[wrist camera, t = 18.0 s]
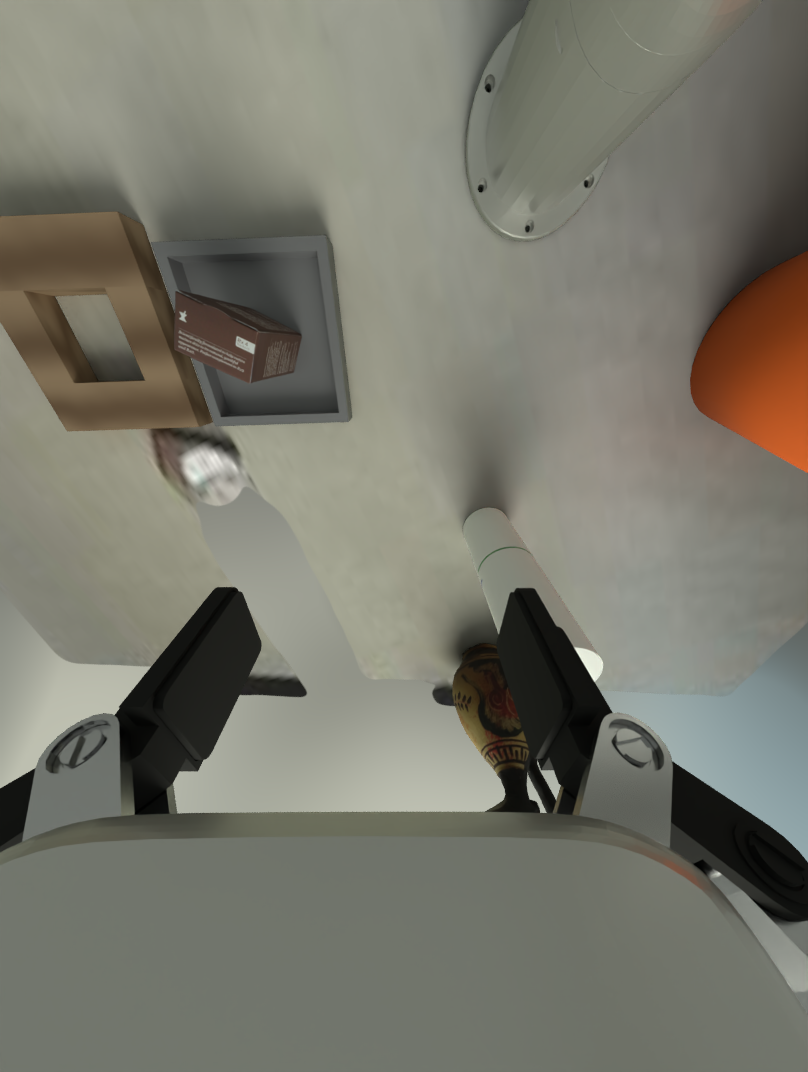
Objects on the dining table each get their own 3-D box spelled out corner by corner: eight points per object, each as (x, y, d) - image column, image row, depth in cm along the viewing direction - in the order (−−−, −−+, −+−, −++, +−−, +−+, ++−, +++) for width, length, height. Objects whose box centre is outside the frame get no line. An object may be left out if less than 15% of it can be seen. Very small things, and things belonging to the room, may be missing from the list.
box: (242, 352, 33) (169, 349, 23) (249, 306, 31) (172, 280, 20) (295, 377, 34) (249, 386, 24) (305, 335, 32) (259, 324, 22)
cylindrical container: (465, 550, 48) (516, 703, 27) (460, 512, 44) (514, 654, 23) (509, 542, 47) (597, 692, 26) (507, 503, 44) (608, 641, 22)
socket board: (-21, 231, 28) (-63, 219, 26) (143, 225, 28) (117, 211, 25) (89, 426, 38) (67, 431, 35) (212, 422, 37) (198, 426, 35)
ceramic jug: (438, 674, 66) (461, 875, 40) (461, 629, 58) (508, 841, 32) (507, 684, 68) (571, 880, 43) (538, 642, 60) (640, 850, 35)
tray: (173, 252, 29) (150, 242, 26) (332, 246, 29) (325, 235, 26) (228, 421, 37) (215, 426, 35) (352, 417, 37) (348, 421, 35)
